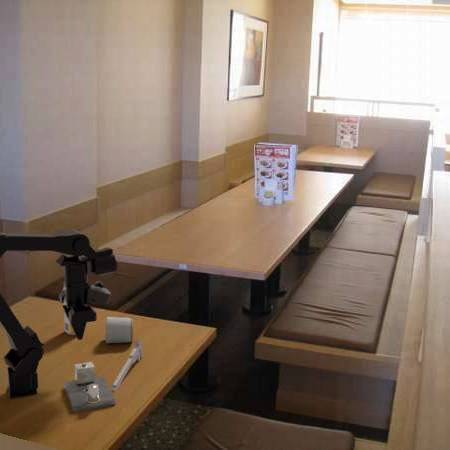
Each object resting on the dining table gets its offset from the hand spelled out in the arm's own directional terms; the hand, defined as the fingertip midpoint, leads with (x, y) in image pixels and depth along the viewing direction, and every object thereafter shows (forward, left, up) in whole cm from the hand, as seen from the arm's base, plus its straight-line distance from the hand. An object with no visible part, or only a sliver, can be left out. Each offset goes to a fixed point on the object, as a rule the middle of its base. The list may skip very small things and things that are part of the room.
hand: (78, 336), depth 167 cm
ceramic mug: (+15, +19, -11) cm, 27 cm away
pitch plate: (0, -12, -11) cm, 16 cm away
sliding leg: (0, -7, -9) cm, 11 cm away
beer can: (+4, +30, -11) cm, 32 cm away
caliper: (+12, -3, -12) cm, 17 cm away
